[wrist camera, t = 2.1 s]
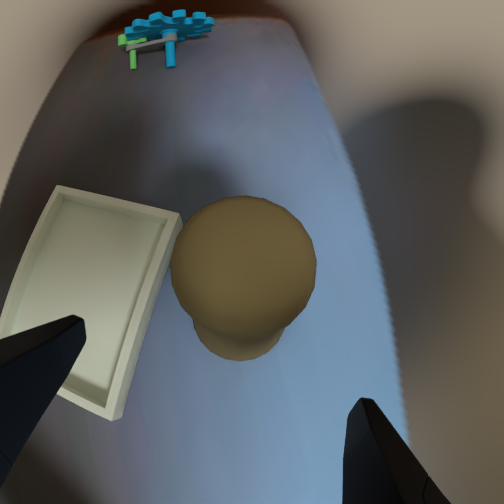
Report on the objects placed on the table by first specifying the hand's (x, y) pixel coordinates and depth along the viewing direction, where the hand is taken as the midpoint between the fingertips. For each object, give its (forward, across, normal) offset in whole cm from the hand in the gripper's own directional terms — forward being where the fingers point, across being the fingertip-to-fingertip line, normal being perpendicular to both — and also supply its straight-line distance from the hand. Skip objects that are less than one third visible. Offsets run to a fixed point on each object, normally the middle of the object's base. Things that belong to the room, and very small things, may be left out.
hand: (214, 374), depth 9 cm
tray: (+9, +11, +6) cm, 15 cm away
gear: (+29, +16, -13) cm, 35 cm away
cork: (+10, 0, +5) cm, 11 cm away
